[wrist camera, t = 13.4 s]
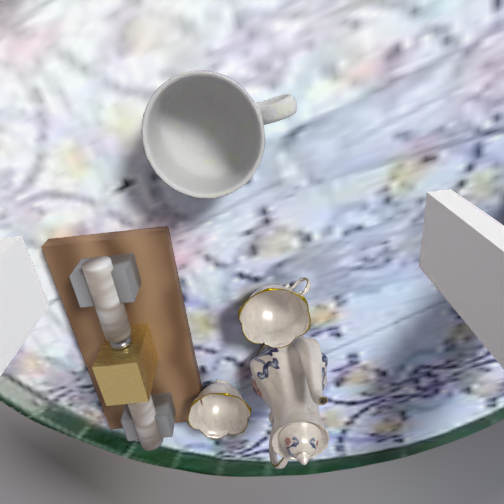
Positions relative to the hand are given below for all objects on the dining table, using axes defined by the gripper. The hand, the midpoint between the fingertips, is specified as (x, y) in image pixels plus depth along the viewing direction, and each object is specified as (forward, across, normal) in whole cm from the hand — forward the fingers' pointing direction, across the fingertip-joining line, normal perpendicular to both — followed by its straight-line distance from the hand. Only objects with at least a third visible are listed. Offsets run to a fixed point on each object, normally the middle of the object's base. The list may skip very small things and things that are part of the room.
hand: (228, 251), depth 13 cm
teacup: (+32, +1, +1) cm, 32 cm away
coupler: (+30, +16, +27) cm, 43 cm away
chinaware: (+32, -1, +32) cm, 46 cm away
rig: (+32, +16, +27) cm, 45 cm away
